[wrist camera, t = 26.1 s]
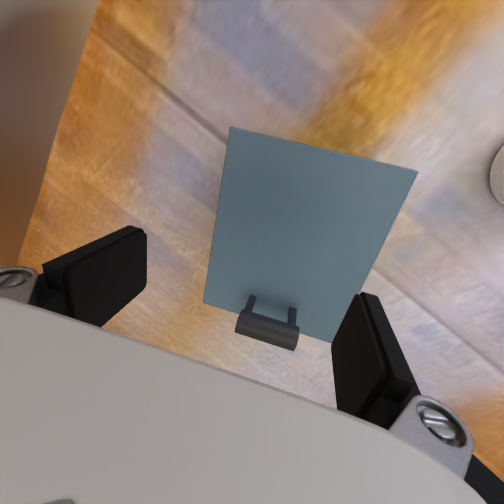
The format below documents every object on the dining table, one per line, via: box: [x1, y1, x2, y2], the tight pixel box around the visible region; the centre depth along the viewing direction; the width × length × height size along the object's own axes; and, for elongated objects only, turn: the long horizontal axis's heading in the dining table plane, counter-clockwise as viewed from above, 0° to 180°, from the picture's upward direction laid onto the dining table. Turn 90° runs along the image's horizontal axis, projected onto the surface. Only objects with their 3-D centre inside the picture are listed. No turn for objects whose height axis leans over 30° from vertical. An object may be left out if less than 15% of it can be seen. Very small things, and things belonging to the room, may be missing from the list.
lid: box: [203, 127, 419, 351], centre depth 19 cm, size 17×14×5 cm
